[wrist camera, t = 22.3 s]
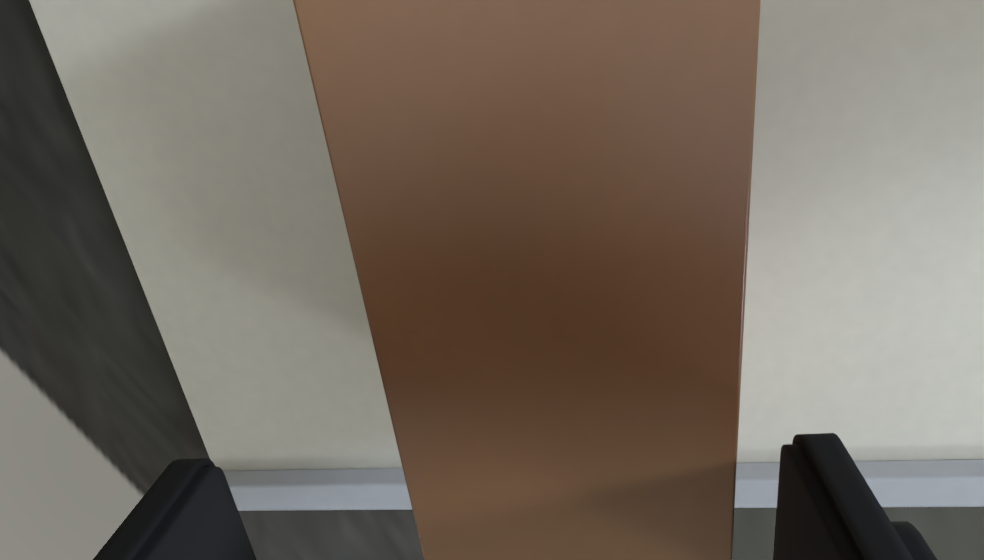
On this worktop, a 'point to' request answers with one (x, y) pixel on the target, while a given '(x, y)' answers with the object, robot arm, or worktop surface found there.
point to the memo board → (770, 261)
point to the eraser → (550, 260)
